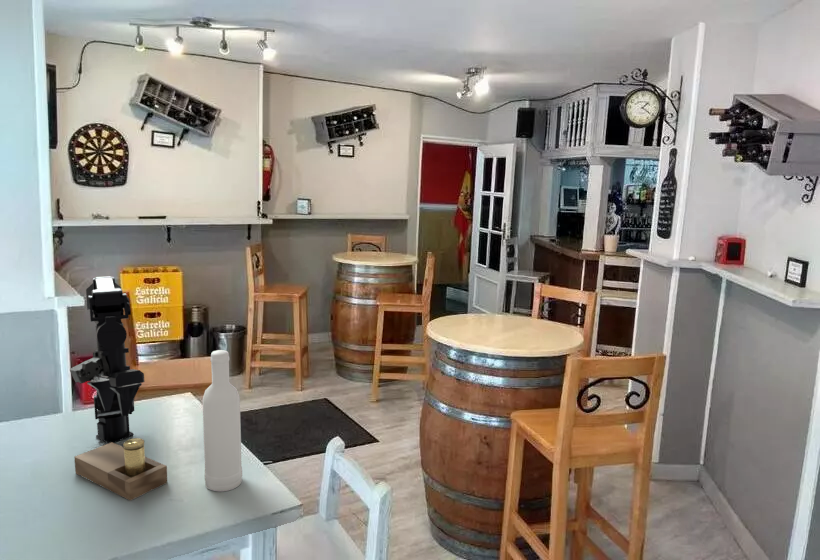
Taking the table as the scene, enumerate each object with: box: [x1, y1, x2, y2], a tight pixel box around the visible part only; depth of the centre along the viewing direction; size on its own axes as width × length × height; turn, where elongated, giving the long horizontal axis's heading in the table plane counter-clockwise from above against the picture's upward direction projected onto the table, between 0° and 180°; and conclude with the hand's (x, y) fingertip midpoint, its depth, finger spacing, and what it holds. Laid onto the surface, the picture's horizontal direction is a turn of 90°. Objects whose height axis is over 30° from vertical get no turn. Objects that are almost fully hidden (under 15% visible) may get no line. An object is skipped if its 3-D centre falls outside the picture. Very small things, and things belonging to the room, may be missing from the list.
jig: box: [73, 442, 168, 501], centre depth 139 cm, size 9×20×4 cm, turn 58°
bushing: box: [122, 437, 146, 478], centre depth 136 cm, size 4×4×10 cm
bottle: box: [201, 349, 243, 492], centre depth 136 cm, size 8×8×30 cm
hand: (115, 413), depth 143 cm, fingers open, 9 cm apart
